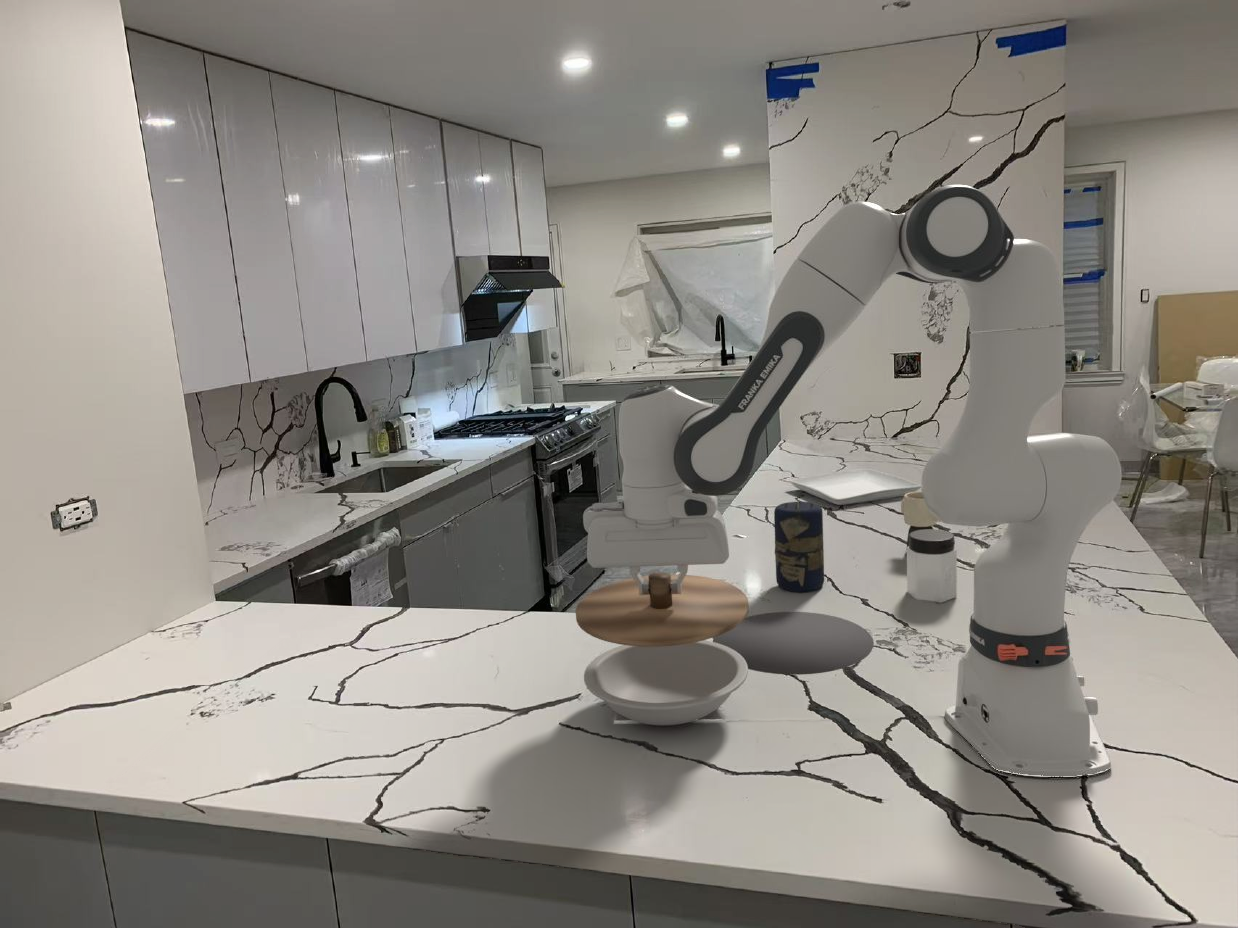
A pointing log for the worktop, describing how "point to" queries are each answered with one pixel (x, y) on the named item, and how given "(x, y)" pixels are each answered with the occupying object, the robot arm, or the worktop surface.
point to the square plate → (855, 486)
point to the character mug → (917, 513)
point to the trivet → (797, 642)
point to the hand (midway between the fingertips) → (660, 593)
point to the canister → (799, 546)
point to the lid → (662, 611)
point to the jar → (932, 565)
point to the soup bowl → (666, 680)
